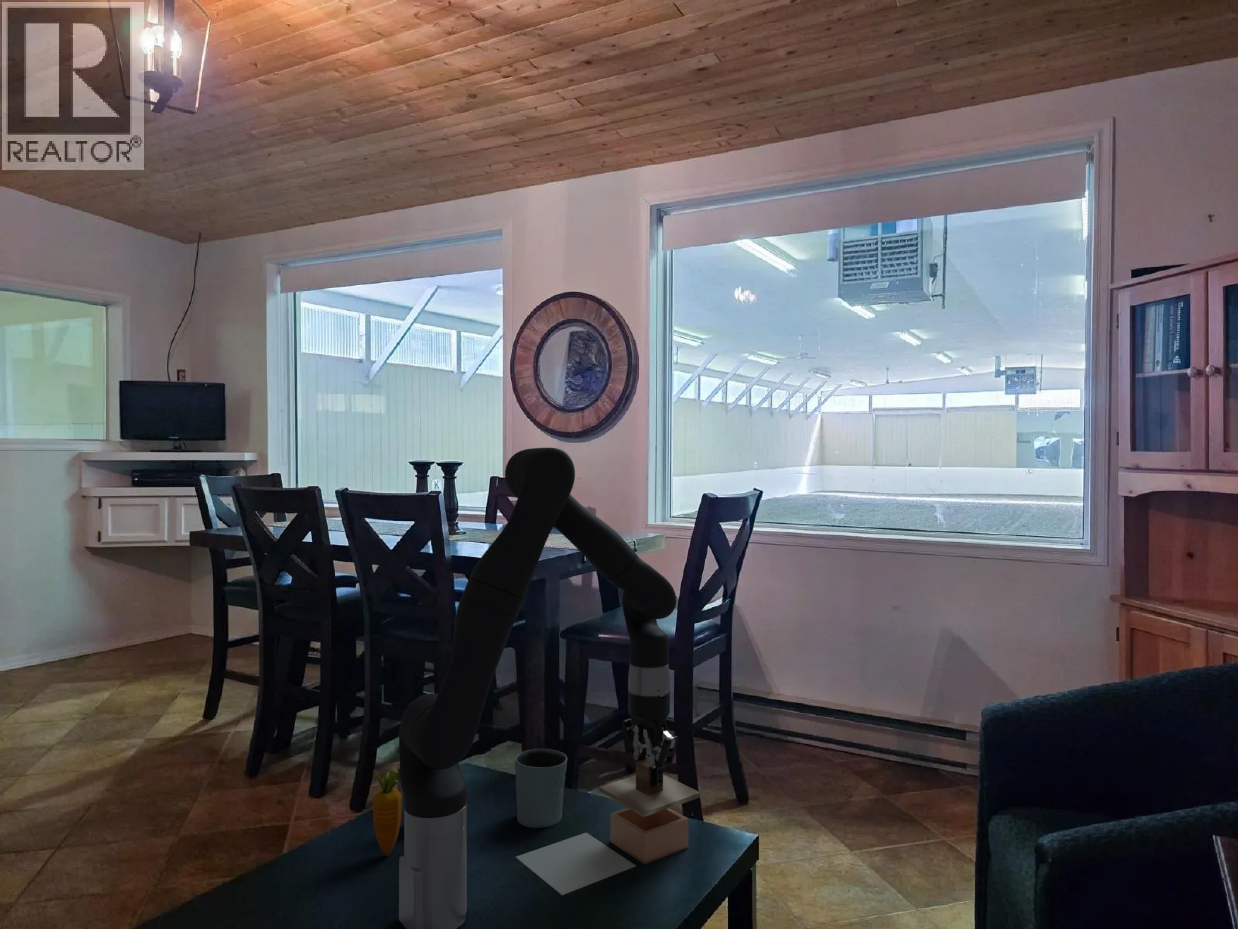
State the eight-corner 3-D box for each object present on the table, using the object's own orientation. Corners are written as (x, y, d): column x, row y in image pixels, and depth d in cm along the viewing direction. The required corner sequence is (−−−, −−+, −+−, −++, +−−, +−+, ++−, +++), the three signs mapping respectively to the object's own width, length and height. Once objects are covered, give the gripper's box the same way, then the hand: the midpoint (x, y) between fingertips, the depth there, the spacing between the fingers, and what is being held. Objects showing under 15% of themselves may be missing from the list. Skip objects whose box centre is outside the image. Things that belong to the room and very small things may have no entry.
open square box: (644, 866, 131) (645, 834, 131) (610, 844, 139) (610, 813, 139) (688, 849, 137) (688, 818, 137) (652, 828, 145) (652, 799, 145)
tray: (562, 897, 122) (562, 895, 122) (515, 859, 134) (515, 857, 134) (636, 868, 131) (636, 866, 131) (586, 834, 143) (586, 832, 143)
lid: (643, 817, 129) (643, 782, 129) (599, 791, 140) (599, 759, 140) (700, 797, 137) (700, 764, 137) (654, 774, 148) (654, 743, 148)
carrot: (366, 858, 134) (366, 772, 134) (387, 846, 138) (387, 763, 138) (387, 865, 131) (387, 778, 132) (407, 853, 136) (408, 768, 136)
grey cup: (508, 813, 152) (508, 752, 152) (556, 804, 156) (556, 745, 156) (524, 836, 142) (524, 771, 142) (574, 825, 147) (574, 762, 147)
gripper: (609, 683, 142) (609, 776, 142) (658, 701, 131) (658, 803, 131) (640, 676, 146) (641, 766, 146) (691, 693, 135) (691, 791, 135)
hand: (649, 783), depth 138 cm, fingers closed on lid, 3 cm apart
